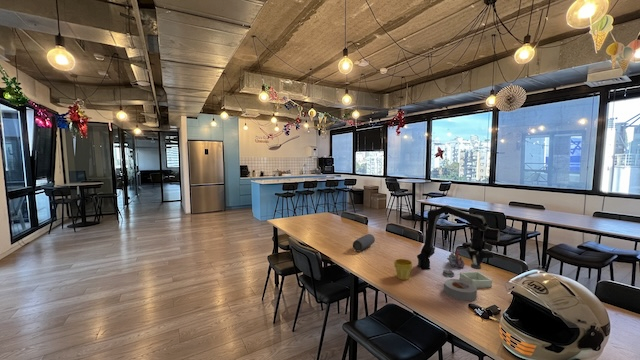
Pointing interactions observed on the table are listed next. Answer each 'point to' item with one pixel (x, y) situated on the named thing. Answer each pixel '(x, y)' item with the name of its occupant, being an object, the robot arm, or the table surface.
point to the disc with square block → (448, 273)
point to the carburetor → (455, 260)
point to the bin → (476, 279)
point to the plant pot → (403, 268)
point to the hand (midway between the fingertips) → (476, 264)
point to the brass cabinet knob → (475, 263)
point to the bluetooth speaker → (363, 242)
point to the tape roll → (460, 290)
